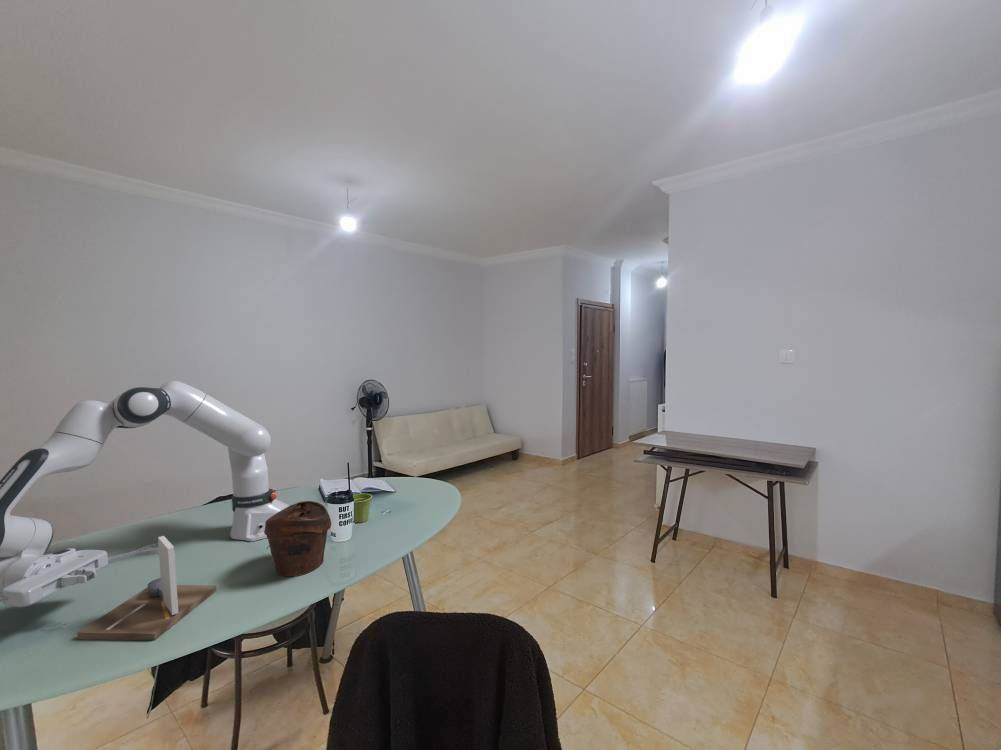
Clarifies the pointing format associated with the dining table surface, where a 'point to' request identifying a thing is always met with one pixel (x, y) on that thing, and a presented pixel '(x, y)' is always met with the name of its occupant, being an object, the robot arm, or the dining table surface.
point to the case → (298, 537)
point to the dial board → (145, 615)
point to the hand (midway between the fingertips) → (90, 576)
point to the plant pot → (361, 507)
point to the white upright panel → (166, 577)
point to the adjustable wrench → (136, 553)
